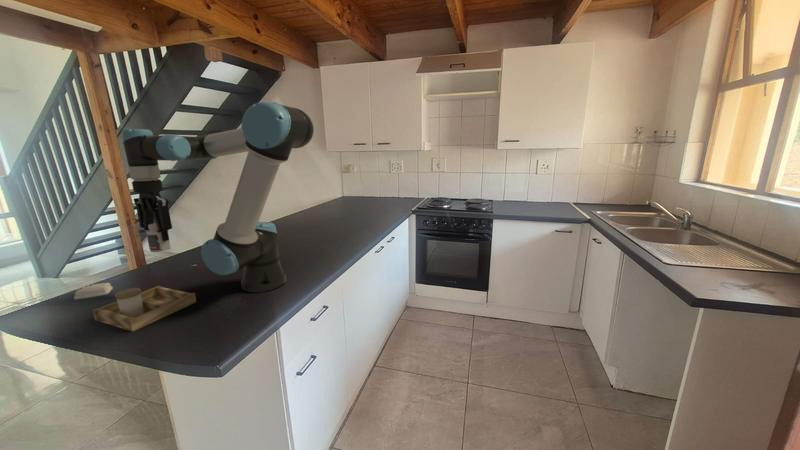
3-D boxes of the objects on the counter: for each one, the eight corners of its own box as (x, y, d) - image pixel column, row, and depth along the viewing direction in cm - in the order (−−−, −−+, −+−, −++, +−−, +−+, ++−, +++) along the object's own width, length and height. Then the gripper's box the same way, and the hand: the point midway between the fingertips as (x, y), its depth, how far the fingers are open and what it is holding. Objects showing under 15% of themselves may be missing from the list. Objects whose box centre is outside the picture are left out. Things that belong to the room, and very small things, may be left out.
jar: (150, 313, 93) (145, 289, 91) (128, 323, 88) (122, 297, 86) (137, 310, 95) (132, 286, 93) (116, 319, 90) (110, 294, 88)
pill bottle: (159, 252, 103) (154, 226, 101) (146, 251, 104) (141, 225, 102) (173, 248, 108) (169, 222, 106) (161, 247, 109) (156, 222, 107)
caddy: (196, 304, 100) (195, 293, 99) (133, 334, 84) (130, 321, 83) (161, 295, 106) (159, 285, 105) (95, 322, 90) (92, 310, 89)
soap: (72, 301, 104) (70, 292, 103) (80, 293, 110) (78, 285, 109) (108, 295, 108) (106, 287, 107) (114, 287, 114) (112, 280, 113)
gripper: (177, 179, 100) (189, 248, 106) (141, 178, 107) (155, 243, 112) (151, 181, 94) (166, 255, 99) (115, 180, 100) (130, 249, 106)
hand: (160, 249), depth 106 cm, fingers closed on pill bottle, 5 cm apart
